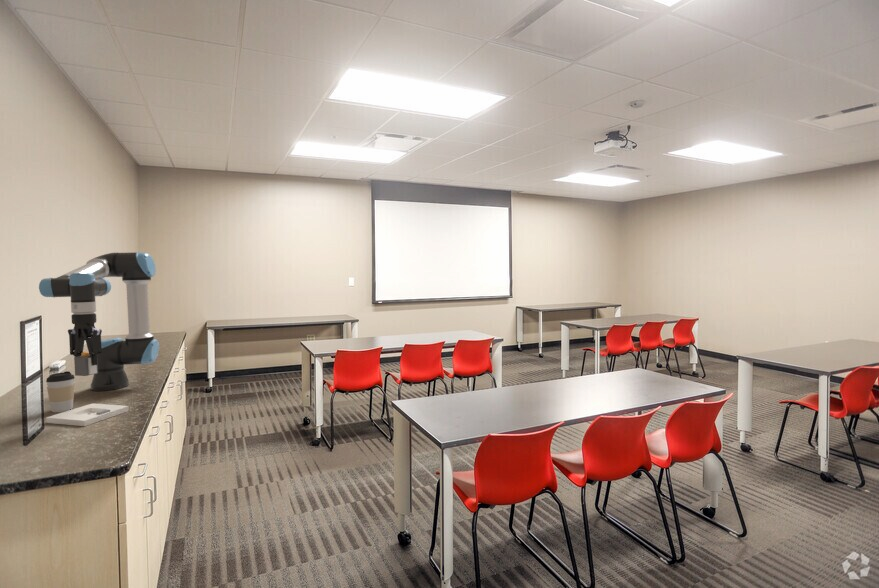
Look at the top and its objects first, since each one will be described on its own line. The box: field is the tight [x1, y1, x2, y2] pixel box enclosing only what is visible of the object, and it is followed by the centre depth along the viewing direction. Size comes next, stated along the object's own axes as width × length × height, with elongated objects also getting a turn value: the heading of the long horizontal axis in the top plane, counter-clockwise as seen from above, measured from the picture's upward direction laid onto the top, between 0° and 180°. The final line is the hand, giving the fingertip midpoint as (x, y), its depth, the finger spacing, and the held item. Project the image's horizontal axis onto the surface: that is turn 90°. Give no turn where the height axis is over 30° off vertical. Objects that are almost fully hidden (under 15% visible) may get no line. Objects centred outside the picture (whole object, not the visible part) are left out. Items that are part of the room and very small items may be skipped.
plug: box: [73, 351, 98, 377], centre depth 177 cm, size 5×5×8 cm
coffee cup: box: [45, 370, 75, 413], centre depth 187 cm, size 9×9×15 cm
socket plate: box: [45, 402, 130, 427], centre depth 178 cm, size 18×18×3 cm
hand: (86, 373), depth 177 cm, fingers closed on plug, 5 cm apart
